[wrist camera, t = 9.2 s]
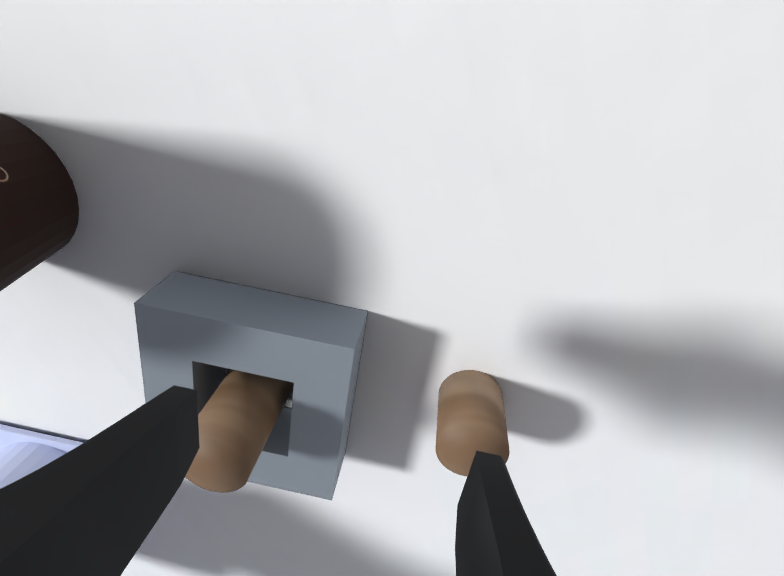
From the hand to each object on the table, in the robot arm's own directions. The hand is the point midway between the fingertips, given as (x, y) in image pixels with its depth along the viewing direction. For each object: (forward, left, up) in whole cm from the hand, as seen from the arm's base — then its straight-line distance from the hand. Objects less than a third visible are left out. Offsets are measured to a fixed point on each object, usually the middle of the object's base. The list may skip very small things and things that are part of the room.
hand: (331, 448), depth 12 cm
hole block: (-6, +5, -9) cm, 12 cm away
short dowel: (-5, -5, -10) cm, 12 cm away
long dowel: (-6, +5, -9) cm, 12 cm away
